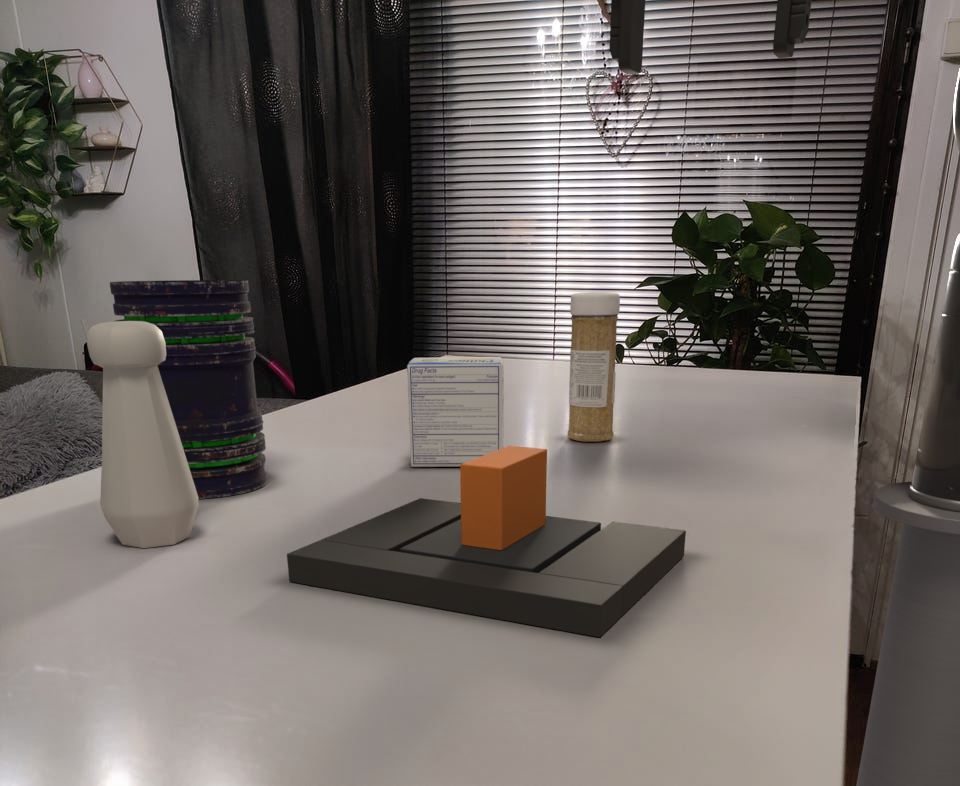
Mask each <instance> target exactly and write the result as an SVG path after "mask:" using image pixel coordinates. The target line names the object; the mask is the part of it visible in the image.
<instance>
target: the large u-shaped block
mask: <svg viewBox="0 0 960 786" xmlns="http://www.w3.org/2000/svg"><path fill="white" fill-rule="evenodd" d="M460 519H461V502H455V501H448V500H440V499H439V500H438V499H430V498H423V497H422V498H421V497H420V498H418V499H414V500H413V501H410V502H408V503H406V504H403V505H400V506H398V507H396V508H394V509H391V510H389V511H386V512H384V513H381V514H378V515H377V516H375V517H372V518H370V519H367V520H365V521H362V522H360V523H357V524H355V525H353V526H350V527H348V528H346V529H343V530H341V531H338V532H336V533H334V534H331V535H329V536H326V537H324V538H322V539H319V540H317V541H313V542H312V543H309V544H307V545H305V546H303V547H300V548H297V549H295V550H292V551H291V552H287V554H286V562H287V571H288V580H289V581H288V582H290V583H296V584H301V585H306V586H307V585H308V586H313V587H319V588H323V589H330V590H335V591H341V592H345V593H351V594H357V595H363V596H368V597H373V598H380V599H386V600H391V601H395V602H401V603H407V604H413V605H418V606H424V607H430V608H433V609H434V608H435V609H439V610H446V611H450V612H455V613H462V614H467V615H474V616H478V617H479V616H480V617H484V618H489V619H490V618H491V619H495V620H501V621H506V622H511V623H512V622H513V623H517V624H518V623H519V624H523V625H528V626H535V627H540V628H545V629H551V630H556V631H563V632H569V633H574V634H578V635H579V634H580V635H585V636H590V637H595V638H601V637H602V636H603V635H604V634H606V632H607V631H608V630H609V629H611V627H612V626H614V624H616V623H617V622H618V621H619V620H620V619H621V618H622V617H623V616H624V615H625V614H626V613H627V612H628V611H629V610H630V609H631V608H632V607H633V606H634V605H635V604H636V603H637V602H638V601H639V600H641V598H642V597H643V596H644V595H645V594H647V592H649V591H650V590H651V588H652V587H654V586H655V585H656V584H657V583H658V582H659V581H660V580H661V579H662V578H663V577H664V576H665V575H666V574H667V573H668V572H669V571H670V570H671V569H672V568H673V567H674V566H675V565H676V564H677V563H679V561H680V560H682V559H683V558H684V556H685V549H686V548H685V547H686V535H687V531H686V530H685V529H679V528H671V527H670V528H669V527H662V526H655V525H654V526H653V525H646V524H636V523H629V522H620V521H612V522H610V523H609V524H607V525H606V526H604V527H603V528H601V530H600V531H599V532H597V533H596V534H594V535H593V536H591V537H590V538H588V539H587V540H586V541H584V542H583V543H581V544H580V545H578V546H577V547H575V548H574V549H573V550H571V551H570V552H568V553H567V554H565V555H564V556H562V557H561V558H560V559H558V560H557V561H555V562H554V563H552V564H551V565H550V566H548V567H547V568H545V569H544V570H542V571H541V572H539V573H533V572H527V571H520V570H514V569H507V568H500V567H494V566H487V565H481V564H474V563H468V562H461V561H455V560H448V559H441V558H435V557H428V556H422V555H415V554H409V553H402V552H400V548H402V547H404V546H407V545H409V544H411V543H413V542H415V541H417V540H419V539H421V538H423V537H425V536H427V535H429V534H431V533H433V532H435V531H437V530H439V529H441V528H443V527H446V526H448V525H450V524H452V523H454V522H456V521H458V520H460Z"/></svg>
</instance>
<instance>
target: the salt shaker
mask: <svg viewBox="0 0 960 786" xmlns="http://www.w3.org/2000/svg"><path fill="white" fill-rule="evenodd" d="M114 321H115V320H114ZM114 321H107V322H100V323H97V324H94V325H92V326H91V327H90V329H88V331H87V333H86V334H87V335H86V346H87V351H88V354H89V355H88V356H89V358H90V359H91V362H92V363H93V365H95V366H98V367H100V368H102V413H101V414H102V417H101V418H102V420H101V421H102V424H101V428H102V430H101V471H100V472H101V473H100V475H101V476H100V498H99V499H100V500H99V501H100V508H101V511H102V515H103V517H104V519H105V520H106V522H107V523H108V525H109V526H110V528H111V529H112V531H113V532H114V534H115V536H116V537H117V539H118V540H119V542H120V543H121V545H123V546H129V547H134V548H140V549H149V548H156V547H157V548H158V547H165V546H166V547H167V546H173V545H174V546H175V545H176V544H178V543H180V542H182V541H184V540H187V539H189V538H190V537H191V535H192V531H193V528H194V523H195V520H196V516H197V512H198V509H199V499H198V495H197V491H196V488H195V485H194V482H193V478H192V475H191V472H190V469H189V466H188V462H187V459H186V456H185V453H184V449H183V446H182V443H181V440H180V437H179V433H178V430H177V427H176V424H175V421H174V417H173V414H172V411H171V408H170V404H169V401H168V398H167V395H166V392H165V388H164V385H163V382H162V379H161V375H160V372H159V369H158V366H157V365H158V364H160V363H162V362H163V361H165V359H166V344H165V340H164V337H163V333H162V331H161V330H160V329H159V328H158V327H157V326H156V325H154V324H151V323H148V322H143V321H115V322H114Z"/></svg>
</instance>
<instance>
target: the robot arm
mask: <svg viewBox="0 0 960 786" xmlns="http://www.w3.org/2000/svg"><path fill="white" fill-rule="evenodd" d="M776 2H777V3H776V12H775V20H774V21H775V22H774V32H773V42H772V50H773V54H774V55H775V57H776V58H778V59H787V58H792V57H793V56H794V53H795V46H796V45H798V44H799V45H800V44H804V42H805V40H806V37H807V35H808V33H809V28H810V27H809V26H810V17H811V8H812V0H777V1H776ZM645 14H646V0H611V1H610V20H609V21H610V23H609V25H610V26H609V28H610V29H609V45H608V46H609V53H610V56H611V60H613V61H615V62H617V64H618V69H619V71H620V72H622V73H624V74H626V75H637V74H640V73H641V72H642V69H643V55H644V54H643V53H644V38H645V37H644V36H645V35H644V34H645V16H646V15H645ZM952 113H953V114H952V115H953V116H952V117H953V119H952V120H953V121H952V122H953V123H952V124H953V126H952V127H953V133H954V139H955V144H956V146H957V149H958V152H960V69H959V71H958V75H957V81H956V87H955V91H954V100H953V112H952ZM949 270H950V271H949V272H948V277H947V282H946V288H945V293H944V300H943V305H942V310H941V317H940V321H939V322H940V323H939V329H938V334H937V340H936V345H935V352H934V357H933V362H932V368H931V374H930V378H929V383H928V391H927V395H926V402H925V407H924V412H923V419H922V424H921V430H920V434H919V440H918V447H917V451H916V457H915V462H914V468H913V474H912V480H911V482H912V483H911V484H910V488H909V494H908V496H909V497H910V498H911V499H912V500H914V501H916V502H918V503H921V504H923V505H927V506H930V507H934V508H938V509H943V510H948V511H954V512H960V233H959V234H958V235H957V237H956V239H955V241H954V245H953V249H952V255H951V259H950V266H949Z"/></svg>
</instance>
